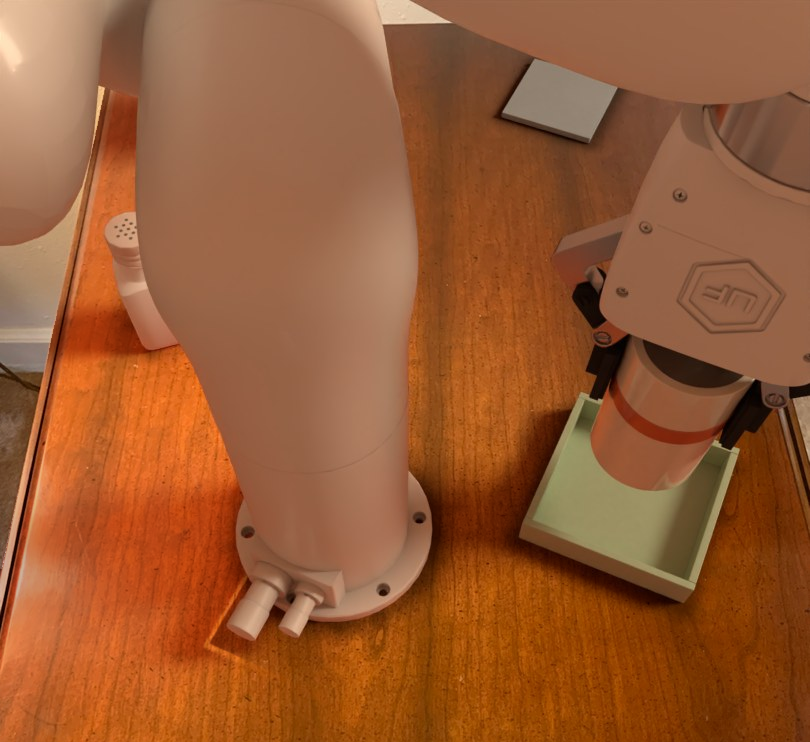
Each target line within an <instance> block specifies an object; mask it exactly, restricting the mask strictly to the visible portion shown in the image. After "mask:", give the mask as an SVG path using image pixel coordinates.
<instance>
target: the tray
mask: <svg viewBox="0 0 810 742" xmlns="http://www.w3.org/2000/svg"><path fill="white" fill-rule="evenodd" d="M589 396H590V394H588V393H585V392H584V391H583V392H582V391H580V392H579V394H578V396H577V397H576V401H575V403H574V405H573V407H572V410H571V412H570V414H569V416H568V419H567V421H566V423H565V425H564V428H563V430H562V433H561V435H560V437H559V439H558V441H557V444H556V446H555V448H554V451H553V453H552V454H551V457H550V459H549V462H548V464H547V466H546V469H545V471H544V473H543V475H542V477H541V480H540V482H539V485H538V487H537V489H536V491H535V493H534V496H533V498H532V500H531V502H530V505H529V507H528V509H527V512H526V514H525V516H524V518H523V521H522V523H521V527H520V530H519V532H518V533H519V534H518V538H519V539H521V540H524V541H526V542H529V543H532V544H534V545H536V546H539V547H541V548H544V549H546V550H549V551H551V552H554V553H557V554H559V555H562V556H564V557H567V558H569V559H572V560H574V561H577V562H579V563H581V564H584V565H587V566H589V567H592V568H594V569H597V570H599V571H601V572H604V573H607V574H609V575H612V576H614V577H617V578H619V579H622V580H625V581H627V582H629V583H632V584H634V585H636V586H639V587H642V588H644V589H646V590H650V591H652V592H654V593H656V594H659V595H662V596H664V597H667V598H668V599H671V600H673V601H677V602H679V603H681V604H682V603H683V604H684V603H685V602H686V601H687V599H688V598H690V596H691V595H692V593H693V592H695V591H694V590H695V589H696V586H697V582H698V579H699V576H700V573H701V570H702V566H703V563H704V560H705V558H706V554H707V553H708V548H709V545H710V543H711V539H712V536H713V534H714V533H713V532H714V529H715V527H716V524H717V520H718V517H719V515H720V511H721V509H722V506H723V502H724V499H725V496H726V493H727V490H728V487H729V484H730V480H731V478H732V475H733V472H734V468H735V466H736V463H737V459H738V456H739V453H740V451H741V449H740V448H738V447H736V446H734V447H733V448H732V450H728V449H725V448H723V447H721V445H722V444H719V440H717V439H715V441H714V442H713V444H712V445H711V447H710V448H709V450H708V451H707V453H706V454H705V456H704V457H703V459H702V460H701V462H700V463H699V465H698V467H697V468H696V470H695V471H694V473H693V474H692V475H691V476H690V477H689V478H688V479H687V480H686V481H685V482H683V483H681V484H680V485H678V486H676V487H673V488H670V489H666V490H661V491H645V490H639V489H635V488H632V487H629V486H626V485H624V484H622V483H620V482H619V481H617V480H615V479H614V478H612V477H611V476H610V475H609V474H608V473H607V472H606V471H604V469H603V468H602V467H601V466H600V464H599V463H598V461H597V460H596V458H595V456H594V454H593V450H592V447H591V441H590V435H591V429H592V426H593V423H594V420H595V418H596V415H597V413H598V410H599V408H600V406H601V403H602V401H603V399H602V400H601V399H598V401H597V400H594V399H591V398H589Z"/></svg>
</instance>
